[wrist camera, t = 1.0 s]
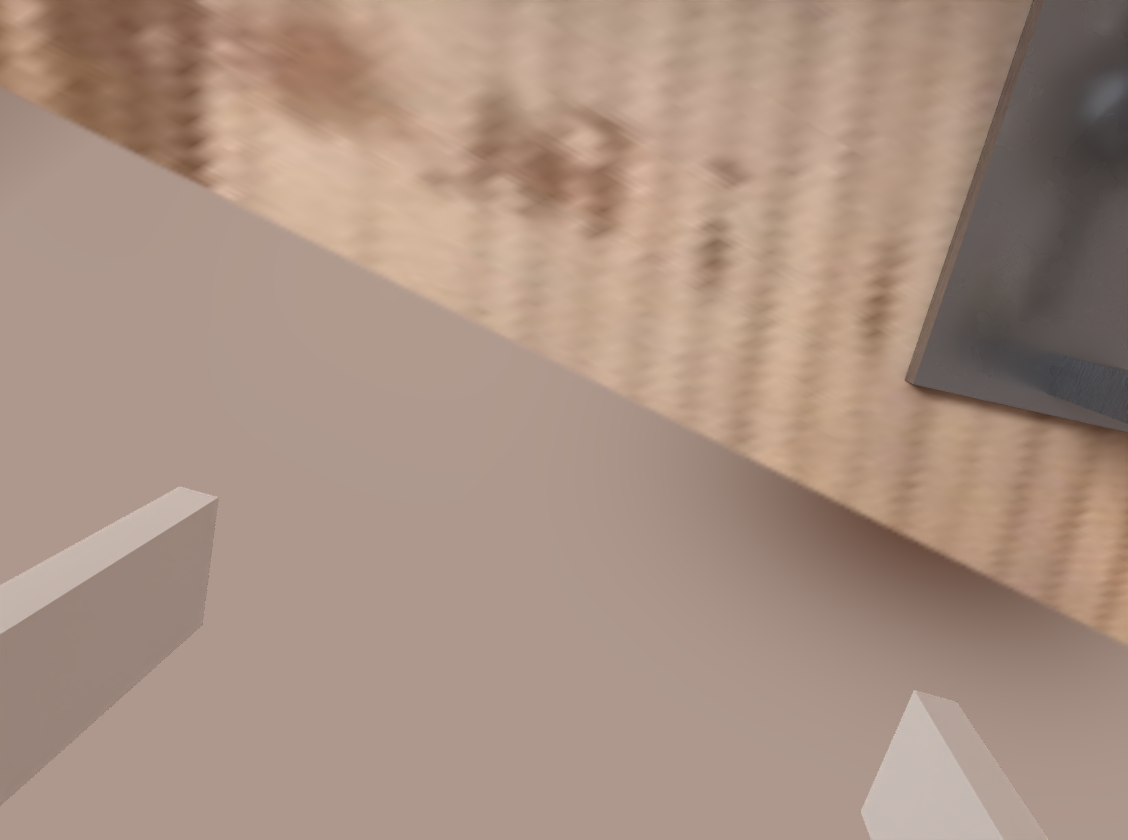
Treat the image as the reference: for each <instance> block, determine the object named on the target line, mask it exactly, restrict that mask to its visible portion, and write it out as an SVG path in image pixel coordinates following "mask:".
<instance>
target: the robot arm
mask: <svg viewBox="0 0 1128 840" xmlns="http://www.w3.org/2000/svg"><path fill="white" fill-rule="evenodd" d="M217 506H218V497H215V496H212V495H208V494H204V493H201V492H198V491H194V490H190V489H187V488H183V487H178V488H176V489H174V490H172V491H171V492H169V493H167V494H165V495H163V496H161V497H160V498H158V499H156V500H154V501H152V502H151V503H149V504H147V505H145V506H143V507H141V508H140V509H138V510H136V511H134V512H132V513H131V514H129V515H127V516H125V517H124V518H121V519H120V520H118V521H116V522H114V523H112V524H111V525H109V526H107V527H105V528H103V529H101V530H100V531H98V532H96V533H94V534H92V535H91V536H89V537H87V538H85V539H84V540H82V541H80V542H78V543H76V544H74V545H72V546H71V547H69V548H67V549H65V550H63V551H62V552H60V553H58V554H56V555H54V556H53V557H51V558H49V559H47V560H46V561H43V562H42V563H40V564H38V565H36V566H34V567H32V568H31V569H29V570H27V571H25V572H23V573H22V574H20V575H18V576H16V577H14V578H12V579H11V580H9V581H7V582H5V583H3V584H2V585H0V806H1V805H2V804H3V803H4V802H5V801H6V800H8V799H9V798H10V797H11V796H12V795H13V794H14V793H15V792H16V791H18V790H19V789H20V788H21V787H22V786H23V785H24V784H25V783H27V782H28V781H29V780H30V779H31V778H32V777H33V776H34V775H35V774H37V773H38V772H39V771H40V770H41V769H42V768H43V767H44V766H46V765H47V764H48V763H49V762H50V761H51V760H52V759H53V758H54V757H56V756H57V755H58V754H59V753H60V752H61V751H62V750H63V749H65V748H66V747H67V746H68V745H69V744H70V743H71V742H72V741H73V740H75V739H76V738H77V737H78V736H79V735H80V734H81V733H82V732H83V731H85V730H86V729H87V728H88V727H89V726H90V725H91V724H92V723H94V721H96V720H97V719H98V718H99V717H100V716H101V715H103V714H104V713H105V712H106V711H107V710H108V709H109V708H110V707H111V706H113V705H114V704H115V703H116V702H117V701H118V700H119V699H120V698H121V697H123V696H124V695H125V694H126V693H127V692H128V691H129V690H130V689H132V688H133V687H134V686H135V685H136V684H137V683H138V682H139V681H141V680H142V679H143V678H144V677H145V676H146V675H147V674H148V673H149V672H151V671H152V670H153V669H154V668H155V667H156V666H157V665H158V664H159V663H161V662H162V661H163V660H164V659H165V658H166V657H167V656H168V655H170V654H171V653H172V652H173V651H174V650H175V649H176V648H177V647H179V646H180V645H181V644H182V643H183V642H184V641H185V640H186V639H187V638H189V637H190V636H191V635H192V634H193V633H194V632H195V631H196V630H197V629H199V628H200V627H201V626H202V624H203V617H204V609H205V601H206V593H207V585H208V577H209V568H210V561H211V554H212V546H213V538H214V530H215V522H216V513H217ZM861 814H862V817H863V819H864V822H865V825H866V827H867V830H868V833H869V835H870V838H871V840H1049V839H1048V837H1047V836H1046V835H1045V833H1044V831H1043V830H1042V828H1041V827H1040V826H1039V824H1038V823H1037V821H1036V820H1035V818H1034V817H1033V815H1032V814H1031V812H1030V811H1029V809H1028V808H1027V806H1026V805H1025V803H1024V802H1023V800H1022V799H1021V797H1020V796H1019V794H1018V793H1017V791H1016V790H1015V788H1014V787H1013V785H1012V784H1011V782H1010V781H1009V779H1008V778H1007V776H1006V775H1005V773H1004V772H1003V770H1002V769H1001V767H1000V766H999V765H998V763H997V761H996V760H995V758H994V757H993V755H992V754H991V753H990V751H989V750H988V748H987V746H986V745H985V744H984V742H983V741H982V739H981V738H980V736H979V735H978V733H977V732H976V730H975V729H974V727H973V726H972V724H971V723H970V721H969V720H968V718H967V717H966V715H965V714H964V712H963V711H962V709H961V708H960V706H959V705H958V703H957V702H956V701H953V700H949V699H945V698H942V697H938V696H935V695H931V694H927V693H924V692H920V691H917V690H914V691H913V694H912V696H911V698H910V700H909V703H908V705H907V707H906V710H905V712H904V714H903V717H902V719H901V721H900V723H899V725H898V728H897V730H896V732H895V735H894V737H893V739H892V742H891V744H890V746H889V748H888V750H887V753H886V755H885V758H884V760H883V762H882V764H881V767H880V769H879V771H878V773H877V775H876V778H875V780H874V782H873V785H872V787H871V789H870V791H869V794H868V796H867V798H866V800H865V803H864V805H863V807H862V810H861Z"/></svg>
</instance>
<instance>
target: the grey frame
mask: <svg viewBox="0 0 1128 840" xmlns="http://www.w3.org/2000/svg"><path fill="white" fill-rule="evenodd" d="M905 380H906V381H908V382H910V383H911V384H914V385H918V386H923V387H927V388H932V389H936V390H940V391H945V392H949V393H954V394H958V395H963V396H967V397H972V398H976V399H981V400H985V401H990V402H994V403H999V404H1003V405H1007V406H1012V407H1016V408H1021V409H1025V410H1030V411H1034V412H1039V413H1043V414H1048V415H1052V416H1057V417H1061V418H1066V419H1070V420H1075V421H1079V422H1083V423H1088V424H1092V425H1097V426H1101V427H1106V428H1110V429H1115V430H1119V431H1124V432H1128V0H1033V3H1032V6H1031V9H1030V12H1029V15H1028V18H1027V21H1026V24H1025V26H1024V29H1023V32H1022V35H1021V38H1020V41H1019V44H1018V47H1017V50H1016V53H1015V56H1014V59H1013V62H1012V65H1011V68H1010V71H1009V74H1008V77H1007V80H1006V83H1005V86H1004V89H1003V92H1002V94H1001V97H1000V100H999V103H998V106H997V109H996V112H995V115H994V118H993V121H992V124H991V127H990V130H989V133H988V136H987V139H986V142H985V145H984V148H983V151H982V154H981V157H980V160H979V162H978V165H977V168H976V171H975V174H974V177H973V180H972V183H971V186H970V189H969V192H968V195H967V198H966V201H965V204H964V207H963V210H962V213H961V216H960V219H959V222H958V225H957V227H956V230H955V233H954V236H953V239H952V242H951V245H950V248H949V251H948V254H947V257H946V260H945V263H944V266H943V269H942V272H941V275H940V278H939V281H938V284H937V287H936V290H935V293H934V295H933V298H932V301H931V304H930V307H929V310H928V313H927V316H926V319H925V322H924V325H923V328H922V331H921V334H920V337H919V340H918V343H917V346H916V349H915V352H914V355H913V358H912V361H911V363H910V366H909V369H908V372H907V375H906V378H905Z"/></svg>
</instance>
